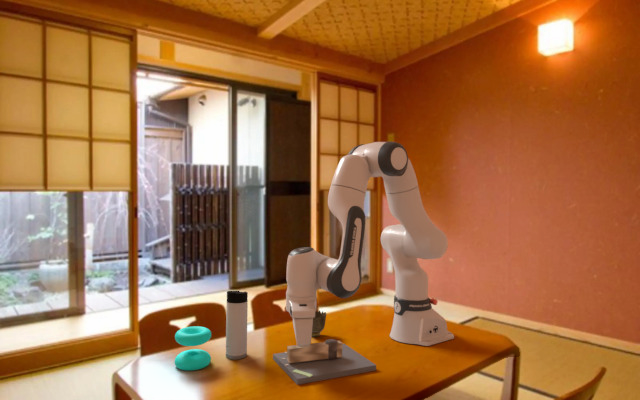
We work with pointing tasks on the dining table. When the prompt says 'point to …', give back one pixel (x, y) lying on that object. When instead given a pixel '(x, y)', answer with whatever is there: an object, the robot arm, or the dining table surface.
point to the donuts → (192, 357)
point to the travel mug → (236, 324)
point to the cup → (318, 323)
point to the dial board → (325, 366)
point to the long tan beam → (315, 351)
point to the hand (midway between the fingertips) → (300, 351)
